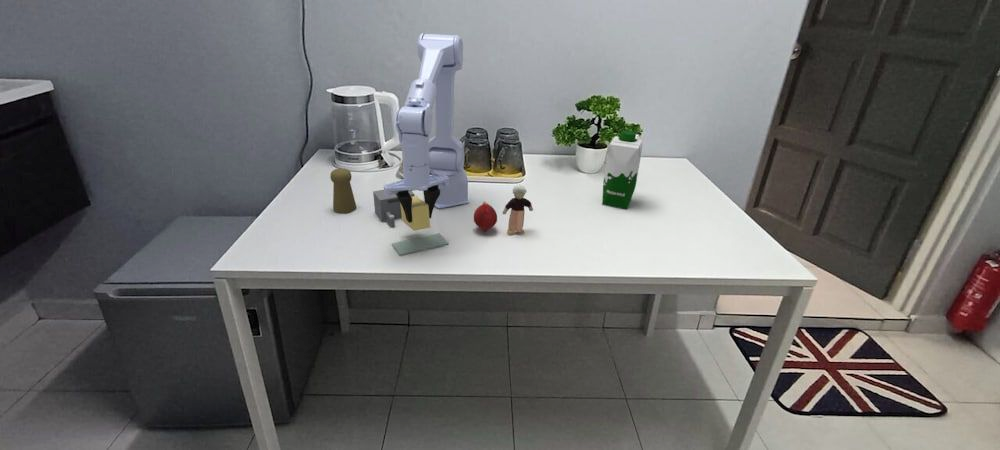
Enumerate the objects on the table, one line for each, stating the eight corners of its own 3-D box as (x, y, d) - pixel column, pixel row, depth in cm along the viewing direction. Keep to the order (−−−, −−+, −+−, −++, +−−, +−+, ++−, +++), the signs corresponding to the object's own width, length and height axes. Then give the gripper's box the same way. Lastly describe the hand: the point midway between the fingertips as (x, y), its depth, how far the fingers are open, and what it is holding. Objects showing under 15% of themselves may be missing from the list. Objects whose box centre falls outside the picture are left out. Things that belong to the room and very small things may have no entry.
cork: (350, 214, 127) (345, 175, 122) (328, 212, 128) (323, 172, 123) (360, 205, 132) (356, 167, 127) (340, 202, 133) (335, 164, 128)
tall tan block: (418, 217, 119) (416, 195, 117) (430, 227, 112) (428, 204, 110) (402, 220, 117) (399, 198, 115) (413, 230, 110) (411, 207, 108)
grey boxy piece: (407, 206, 133) (406, 185, 130) (421, 221, 125) (420, 199, 123) (375, 212, 129) (373, 191, 126) (386, 228, 121) (384, 206, 118)
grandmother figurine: (507, 238, 119) (509, 190, 113) (500, 231, 122) (502, 184, 116) (534, 232, 122) (538, 185, 116) (526, 225, 125) (529, 179, 119)
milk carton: (634, 199, 142) (646, 132, 133) (629, 211, 135) (641, 141, 126) (604, 193, 145) (614, 128, 136) (598, 205, 138) (607, 136, 129)
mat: (439, 234, 119) (439, 232, 119) (448, 244, 115) (448, 243, 115) (391, 244, 114) (391, 243, 114) (399, 255, 110) (399, 254, 110)
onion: (499, 227, 124) (500, 198, 120) (492, 237, 119) (492, 208, 115) (478, 223, 125) (478, 195, 122) (469, 233, 120) (470, 204, 117)
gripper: (389, 173, 99) (393, 232, 105) (454, 163, 106) (455, 219, 112) (378, 162, 105) (383, 219, 111) (441, 153, 111) (442, 207, 117)
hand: (418, 218), depth 112 cm, fingers closed on tall tan block, 4 cm apart
